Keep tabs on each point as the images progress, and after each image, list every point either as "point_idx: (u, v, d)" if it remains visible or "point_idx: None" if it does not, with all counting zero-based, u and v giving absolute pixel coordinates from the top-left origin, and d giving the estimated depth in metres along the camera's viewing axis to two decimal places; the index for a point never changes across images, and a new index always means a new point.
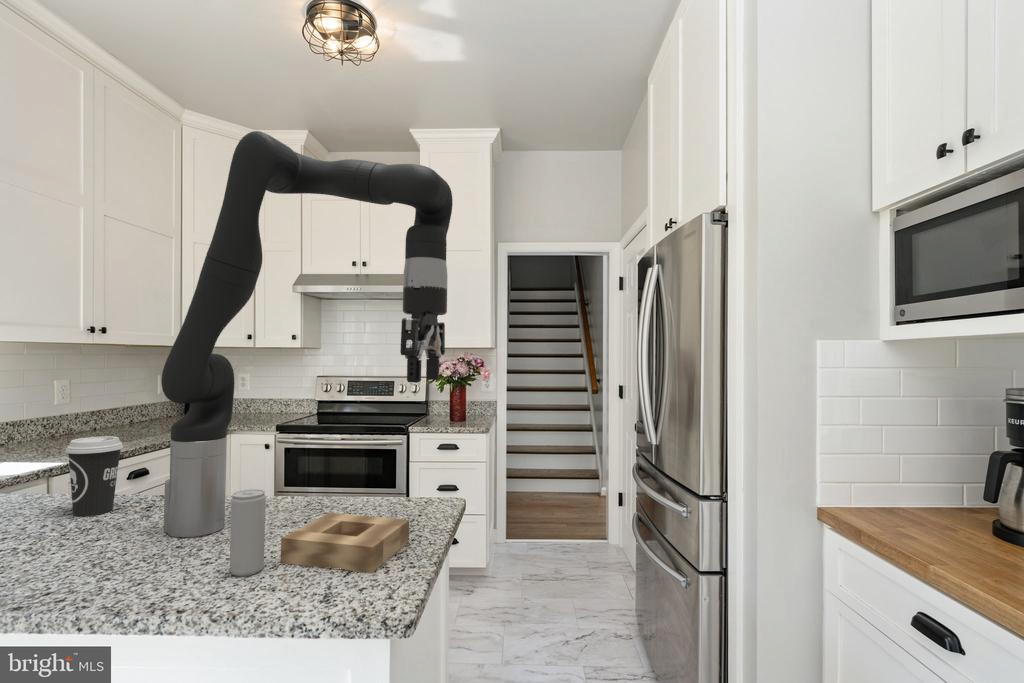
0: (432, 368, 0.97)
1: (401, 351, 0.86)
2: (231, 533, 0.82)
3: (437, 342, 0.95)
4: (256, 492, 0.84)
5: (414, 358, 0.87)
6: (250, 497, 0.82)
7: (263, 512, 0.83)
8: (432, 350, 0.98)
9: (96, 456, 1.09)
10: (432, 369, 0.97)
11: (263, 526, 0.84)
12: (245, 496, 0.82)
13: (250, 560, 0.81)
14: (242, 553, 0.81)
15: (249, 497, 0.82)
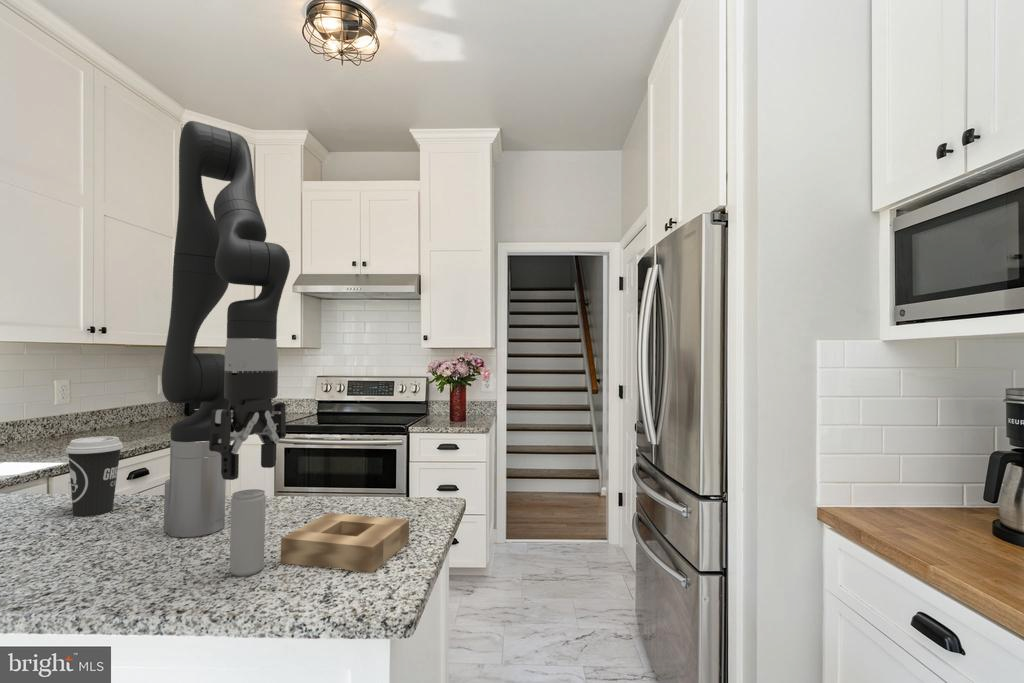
0: (267, 455, 0.88)
1: (210, 447, 0.77)
2: (231, 533, 0.82)
3: (269, 428, 0.86)
4: (256, 492, 0.84)
5: (227, 454, 0.78)
6: (250, 497, 0.82)
7: (263, 512, 0.83)
8: None
9: (96, 456, 1.09)
10: (267, 456, 0.88)
11: (263, 526, 0.84)
12: (245, 496, 0.82)
13: (250, 560, 0.81)
14: (242, 553, 0.81)
15: (249, 497, 0.82)
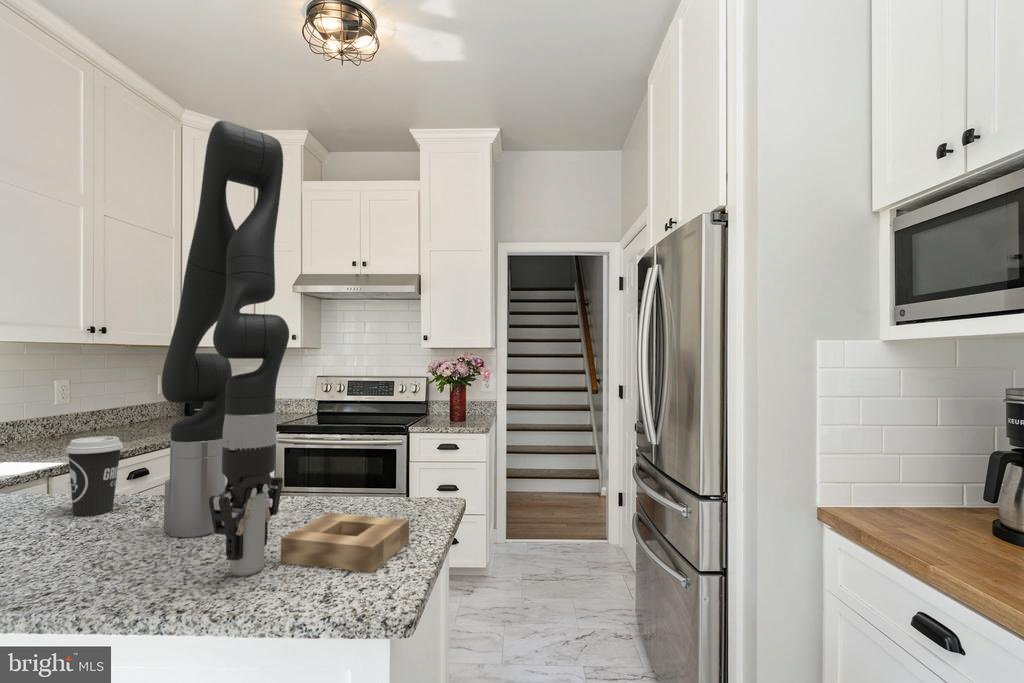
0: None
1: (215, 532, 0.78)
2: None
3: None
4: None
5: (232, 535, 0.80)
6: None
7: (263, 512, 0.83)
8: None
9: (96, 456, 1.09)
10: None
11: (263, 526, 0.84)
12: None
13: (250, 560, 0.81)
14: None
15: None
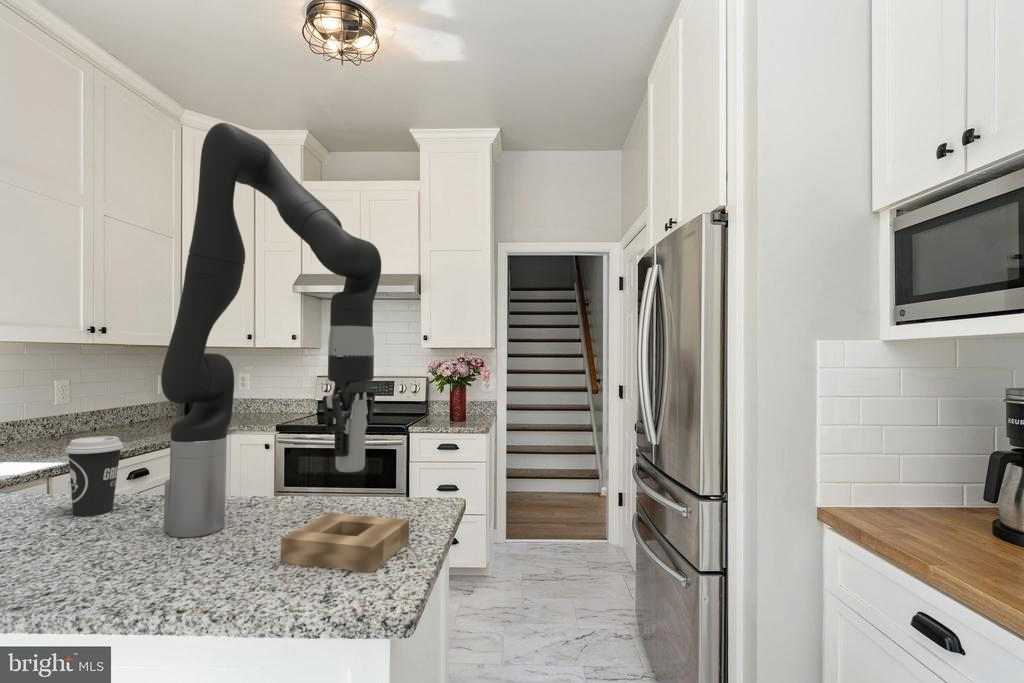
0: None
1: (327, 429, 0.87)
2: None
3: None
4: None
5: (340, 433, 0.88)
6: None
7: (364, 416, 0.92)
8: None
9: (96, 456, 1.09)
10: None
11: (364, 429, 0.92)
12: None
13: (355, 458, 0.90)
14: None
15: None
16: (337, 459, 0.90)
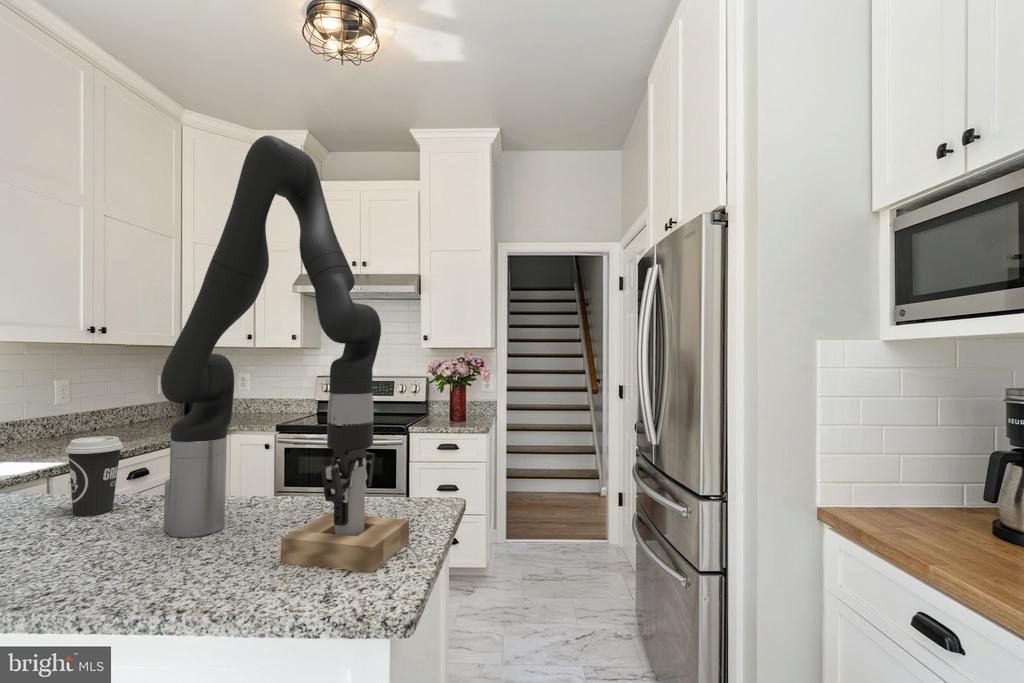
0: None
1: (326, 499, 0.87)
2: None
3: None
4: None
5: (340, 503, 0.88)
6: None
7: (364, 483, 0.92)
8: None
9: (96, 456, 1.09)
10: None
11: (364, 496, 0.92)
12: None
13: (354, 526, 0.90)
14: None
15: None
16: (336, 527, 0.90)
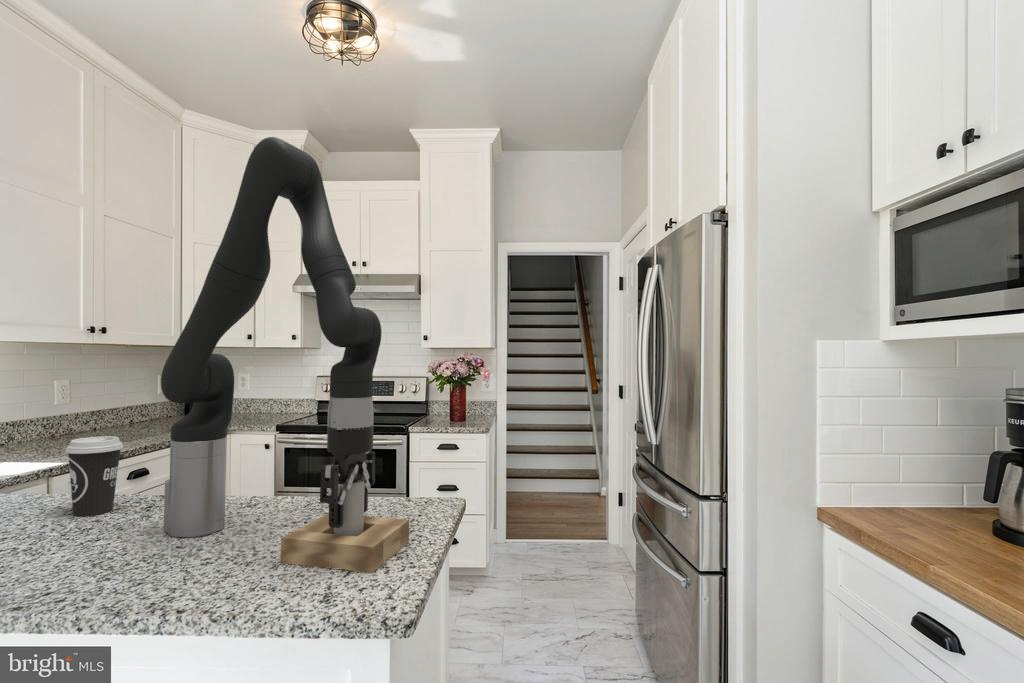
0: None
1: (320, 500, 0.85)
2: None
3: (364, 477, 0.94)
4: None
5: (335, 505, 0.87)
6: (354, 484, 0.90)
7: (363, 498, 0.92)
8: None
9: (96, 456, 1.09)
10: None
11: (363, 511, 0.92)
12: None
13: None
14: None
15: (353, 484, 0.90)
16: None
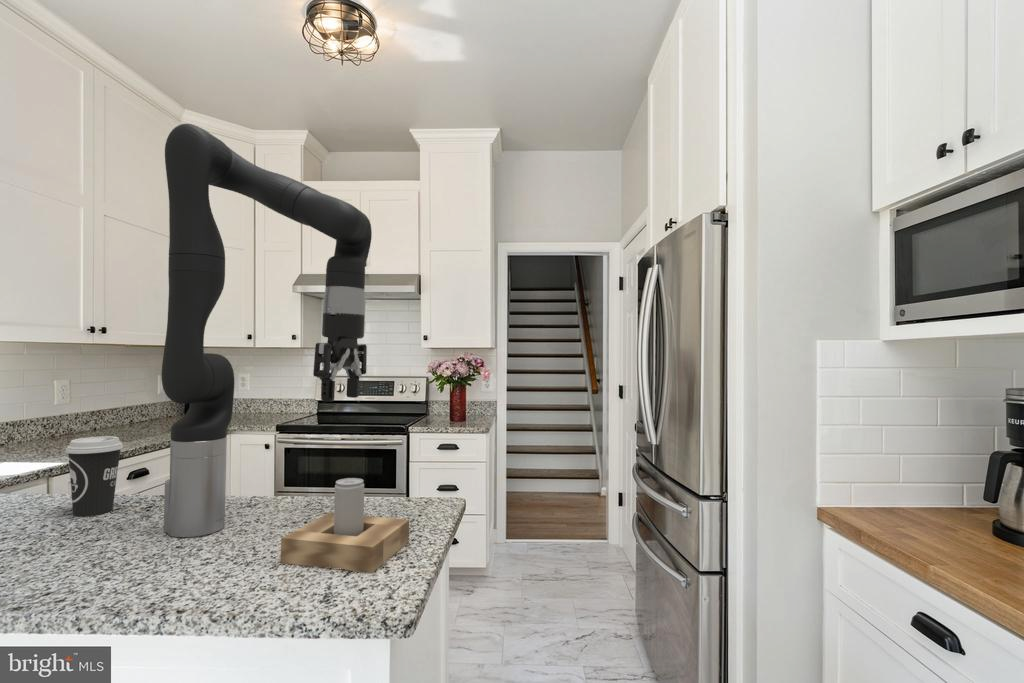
0: (352, 387, 1.05)
1: (314, 373, 0.94)
2: (336, 517, 0.90)
3: (355, 363, 1.03)
4: (355, 480, 0.93)
5: (327, 379, 0.95)
6: (353, 485, 0.90)
7: (363, 498, 0.92)
8: (353, 370, 1.06)
9: (96, 456, 1.09)
10: (351, 387, 1.05)
11: (363, 511, 0.92)
12: (348, 484, 0.90)
13: None
14: None
15: (352, 485, 0.90)
16: None
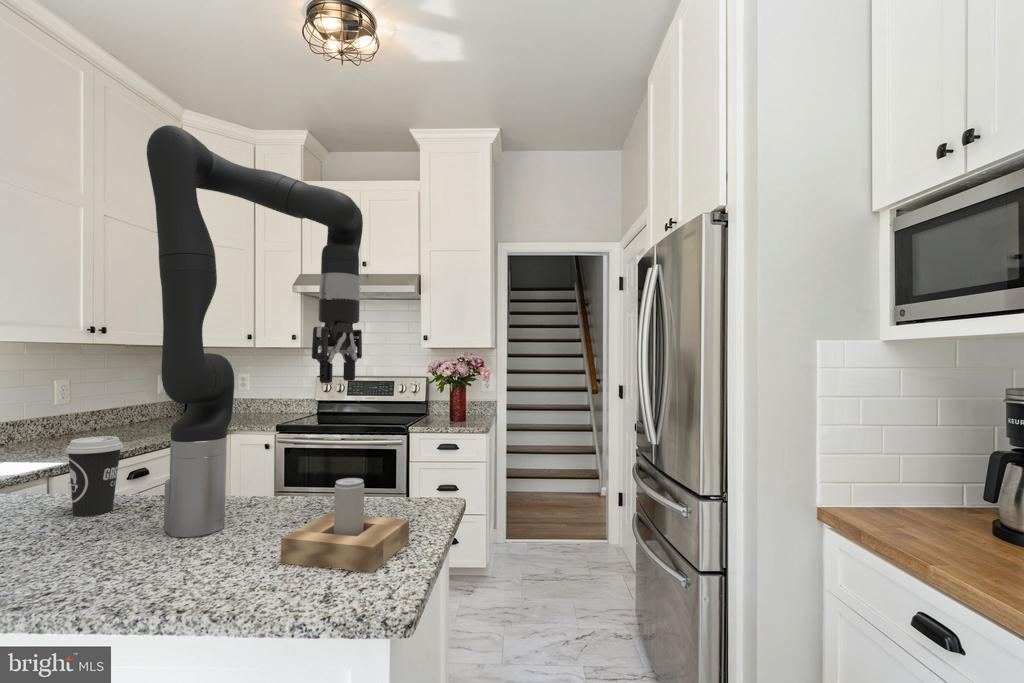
0: (348, 370, 1.09)
1: (312, 355, 0.98)
2: (336, 517, 0.90)
3: (351, 347, 1.07)
4: (355, 480, 0.93)
5: (325, 362, 1.00)
6: (353, 485, 0.90)
7: (363, 498, 0.92)
8: (349, 354, 1.10)
9: (96, 456, 1.09)
10: (348, 371, 1.09)
11: (363, 511, 0.92)
12: (348, 484, 0.90)
13: None
14: None
15: (352, 485, 0.90)
16: None
